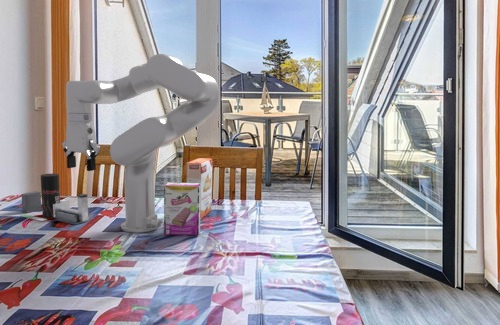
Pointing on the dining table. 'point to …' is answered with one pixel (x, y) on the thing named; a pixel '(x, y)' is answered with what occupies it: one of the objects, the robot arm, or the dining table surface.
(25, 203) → the grey flat block
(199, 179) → the cracker box
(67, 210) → the grey angular piece
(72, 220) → the grey metal bracket
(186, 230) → the candy bar box
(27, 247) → the dining table surface
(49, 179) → the deodorant
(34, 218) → the strips
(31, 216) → the green band
